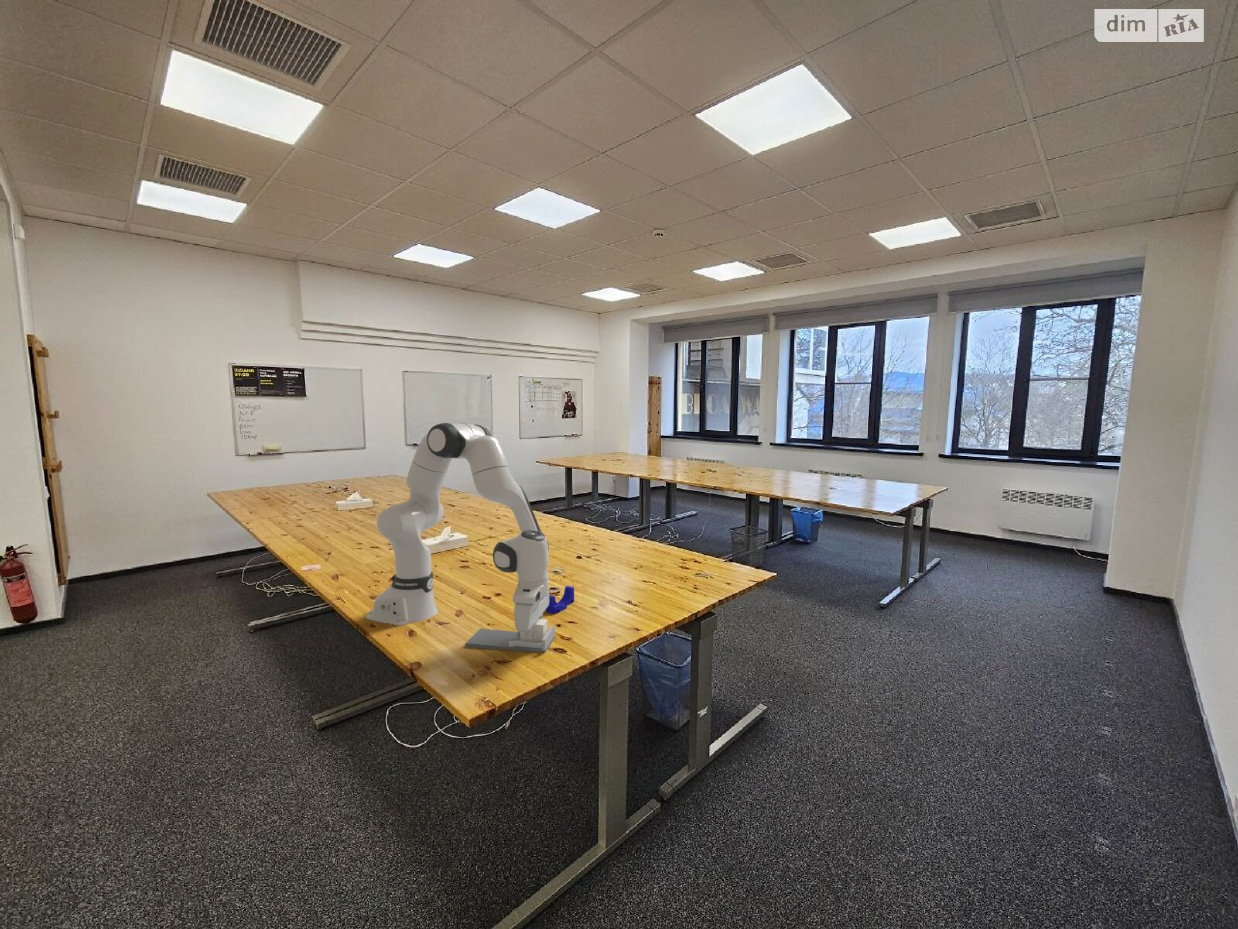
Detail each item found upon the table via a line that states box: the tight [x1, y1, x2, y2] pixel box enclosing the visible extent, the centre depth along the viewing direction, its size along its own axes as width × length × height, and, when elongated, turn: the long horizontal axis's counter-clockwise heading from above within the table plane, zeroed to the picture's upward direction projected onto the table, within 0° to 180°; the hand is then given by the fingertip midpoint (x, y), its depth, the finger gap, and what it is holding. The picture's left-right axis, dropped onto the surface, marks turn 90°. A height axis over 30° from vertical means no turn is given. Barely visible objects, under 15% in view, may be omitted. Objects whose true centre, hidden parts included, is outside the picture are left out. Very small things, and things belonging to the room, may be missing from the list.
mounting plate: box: [464, 625, 556, 654], centre depth 148 cm, size 24×10×4 cm, turn 81°
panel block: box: [520, 618, 549, 643], centre depth 147 cm, size 7×4×6 cm, turn 81°
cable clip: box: [545, 585, 575, 615], centre depth 175 cm, size 12×4×6 cm, turn 147°
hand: (533, 632), depth 147 cm, fingers open, 6 cm apart
